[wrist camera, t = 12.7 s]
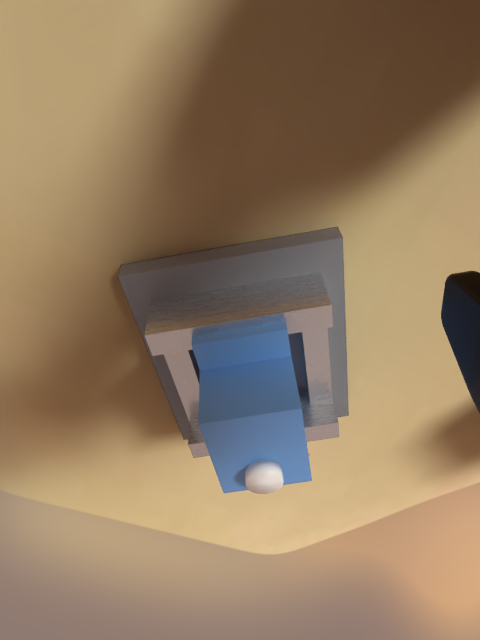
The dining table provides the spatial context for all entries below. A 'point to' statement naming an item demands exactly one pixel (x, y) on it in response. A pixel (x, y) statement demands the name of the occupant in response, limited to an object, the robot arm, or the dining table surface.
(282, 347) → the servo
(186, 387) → the grey shallow tray
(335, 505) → the dining table surface
